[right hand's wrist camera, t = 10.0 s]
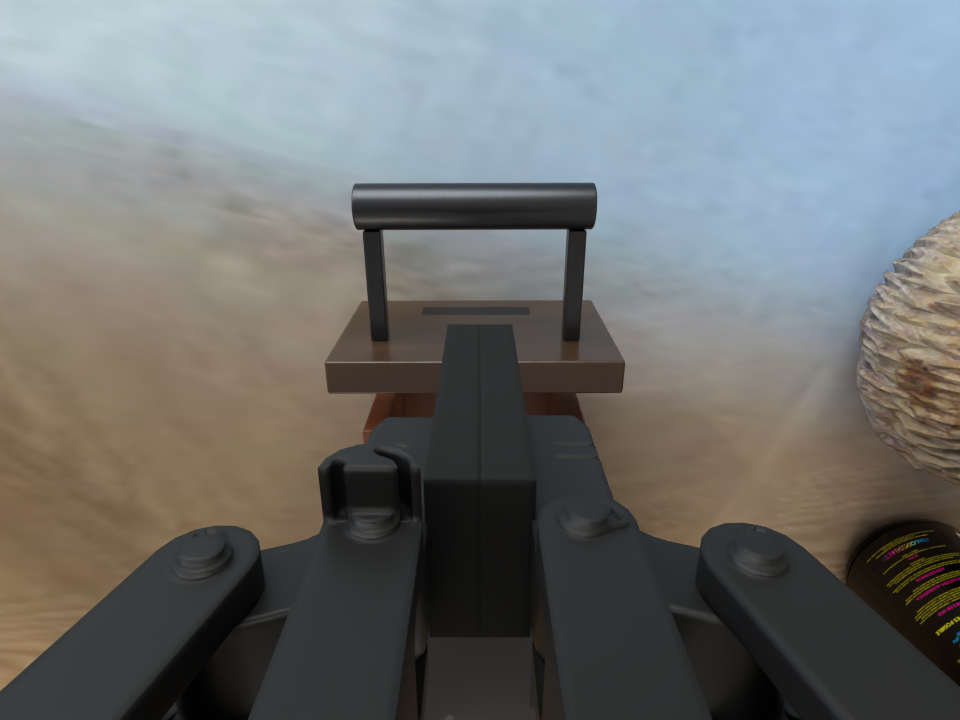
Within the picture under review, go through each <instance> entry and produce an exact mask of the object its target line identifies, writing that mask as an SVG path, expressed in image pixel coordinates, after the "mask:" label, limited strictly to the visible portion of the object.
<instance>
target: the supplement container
mask: <svg viewBox="0 0 960 720" xmlns="http://www.w3.org/2000/svg"><path fill="white" fill-rule="evenodd" d="M844 580H845V585H846V586H847V587H848V588H849V589H850V590H852V591H853V592H854V593H855V594H856V595H857V596H858V597H859V598H861V599H862V600H863V601H864V602H865V603H866V604H867V605H868V606H870V607H871V608H872V609H873V610H874V611H875V612H876V613H877V614H879V615H880V616H881V617H882V618H883V619H884V620H885V621H886V622H888V623H889V624H890V625H891V626H892V627H893V628H894V629H895V630H897V631H898V632H899V633H900V634H901V635H902V636H903V637H904V638H906V639H907V640H908V641H909V642H910V643H911V644H912V645H913V646H915V647H916V648H917V649H918V650H919V651H920V652H921V653H922V654H923V655H925V656H926V657H927V658H928V659H929V660H930V661H931V662H932V663H934V664H935V665H936V666H937V667H938V668H939V669H940V670H941V671H943V672H944V673H945V674H946V675H947V676H948V677H949V678H950V679H952V680H953V681H954V682H955V683H956V684H957V685H958V686H959V687H960V531H958V530H957V529H955V528H954V527H952V526H950V525H947V524H944V523H941V522H938V521H934V520H929V519H907V520H901V521H896V522H893V523H890V524H887V525H885V526H883V527H880V528H878V529H877V530H875V531H873V532H872V533H870V534H869V535H868V536H866V537H865V538H864V539H863V540H862V541H861V542H860V543H859V544H858V545H857V546H856V547H855V549H854V550H853V552H852V553H851V555H850V557H849V559H848V562H847V565H846V568H845V576H844Z"/></svg>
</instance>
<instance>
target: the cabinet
mask: <svg viewBox="0 0 960 720" xmlns="http://www.w3.org/2000/svg"><path fill="white" fill-rule="evenodd" d="M532 640H533V639H532V629H531V634H530V637H430V634H429V632H428V664H429V670H428V681H427V693H426V704H425V715H424V720H536V714H535V708H530V688H531V664H532Z"/></svg>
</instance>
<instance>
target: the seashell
mask: <svg viewBox="0 0 960 720" xmlns="http://www.w3.org/2000/svg"><path fill="white" fill-rule="evenodd" d="M893 265H894V268H895V271H896V273H894V272H891V271H886V272H885V273H884V274H883V276H884V278H885V281H886V284H887V285H885V284H880V283H879V284H878V285H877V286H875V287H874V288H875V290H876V292H877V293H878V294H873V295H871V296H870V297H869V299H868V307H869V308H868V309H867V311H866V312H865V314H864V315H863V318H862V319H861V321H860V327H861V334H860V337H859V341H860V344H861V349H862V350H861V353H860V355H859V360H858V363H857V381H856V383H857V386H858V389H859V396H860V401H861V402H862V404H863V406H864V408H865V410H866V415H867V419H868V421H869V423H870V425H871V428H872V430H873V431H875V432H876V433H877V435H878V436H879V438H880V439H881V440H882V441H883V442H884V443H885V444H886V445H888V446H891V447H893V448H894V449H895V450H897V451H898V453H899V454H901V455H902V456H903V457H904V458H905V459H906V460H907V461H908V463H909V464H910V465H911V466H912V467H913V468H914V469H918V470H925V471H926V472H928V473H931V474H933V475H935V476H938V477H940V478H942V479H944V480H947V481H949V482H951V483H953V484H955V485H960V211H959V212H957V213H956V214H953V215H952V216H951V217H950V218H947V219H944V220H942V221H941V222H940V223H939V225H937V226H935V227H934V228H932V229H930V230H929V231H928V232H927V234H926V236H924V237H921V238H919V239H918V240H916V241H915V242H914V245H913V248H909V249H908V250H907V251H906V252H905V253H904V255H903V258H902V259H899V260H896V261H894V262H893Z"/></svg>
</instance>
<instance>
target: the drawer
mask: <svg viewBox="0 0 960 720" xmlns="http://www.w3.org/2000/svg"><path fill="white" fill-rule="evenodd" d="M596 213H597V191H596V186H595V184H594V183H372V184H354V186H353V190H352V215H353V221H354V225H355V227H356V229H357V230H364V231H363V242H364V255H365V268H366V280H367V293H368V301H362V302H361V303H360V305H359V307H358V308H357V310H356V312H355V313H354V315H353V317H352V318H351V320H350V322H349V323H348V325H347V327H346V328H345V330H344V332H343V333H342V335H341V337H340V338H339V340H338V342H337V343H336V345H335V347H334V348H333V350H332V352H331V353H330V355H329V357H328V358H327V360H326V362H325V370H326V379H327V388H328V392H329V393H377V394H376V397H375V399H374V402H373V405H372V408H371V410H370V413H369V416H368V419H367V422H366V424H365V427H364V430H363V438H364V444H367V442H368V439H369V436H370V433H371V430H372V429H374V428H375V427H376V426H377V425H378V424H380V423H381V422H382V421H383V420H384V419H385V418H387V417H433V415H434V409H435V403H436V396H437V390H438V383H439V377H440V371H441V364H442V358H443V352H444V345H445V339H446V332H447V326H448V324H512V326H513V332H514V339H515V345H516V352H517V358H518V364H519V371H520V377H521V383H522V390H523V396H524V403H525V409H526V415H573V416H575V417H576V418H577V419H578V420H579V421H581V422H582V423H583V424H584V425H585V426H586V423H585V420H584V417H583V414H582V411H581V408H580V405H579V402H578V398H577V395H576V393H621V392H622V390H623V380H624V370H625V361H624V359H623V357H622V356H621V354H620V352H619V350H618V348H617V347H616V345H615V343H614V341H613V339H612V337H611V336H610V334H609V332H608V330H607V328H606V327H605V325H604V323H603V321H602V319H601V318H600V316H599V314H598V312H597V310H596V308H595V307H594V305H593V303H592V301H582V295H583V280H584V265H585V249H586V234H587V232H586V230H585V229H592V228H593V227H594V224H595V220H596ZM502 229H567V238H566V257H565V276H564V296H563V301H387V289H386V274H385V258H384V243H383V230H502Z"/></svg>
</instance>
